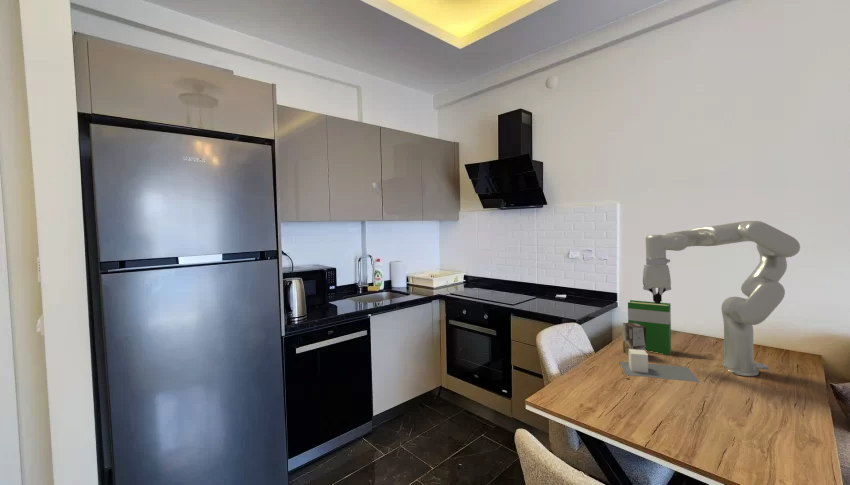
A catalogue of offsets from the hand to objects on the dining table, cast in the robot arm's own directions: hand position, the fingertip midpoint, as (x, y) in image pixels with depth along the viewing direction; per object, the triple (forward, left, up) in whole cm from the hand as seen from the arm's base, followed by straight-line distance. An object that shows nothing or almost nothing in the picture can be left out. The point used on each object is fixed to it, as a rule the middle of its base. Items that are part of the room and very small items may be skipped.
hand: (657, 303), depth 162 cm
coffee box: (+8, -8, -29) cm, 31 cm away
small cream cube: (+10, +11, -27) cm, 31 cm away
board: (+3, +11, -29) cm, 31 cm away
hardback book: (-1, -23, -29) cm, 37 cm away
